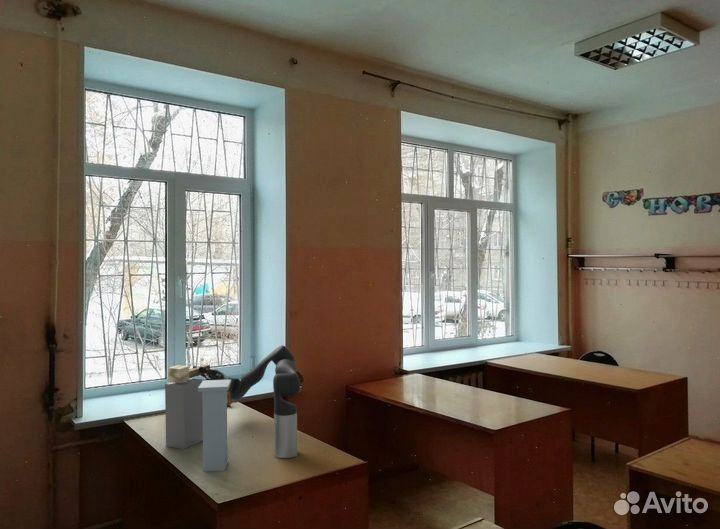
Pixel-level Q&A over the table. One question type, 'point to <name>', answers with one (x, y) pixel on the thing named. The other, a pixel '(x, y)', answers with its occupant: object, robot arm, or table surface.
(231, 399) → the tin
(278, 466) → the table surface
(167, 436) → the grey tall block
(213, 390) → the tall plinth
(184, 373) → the brown wooden bar
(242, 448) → the table surface
